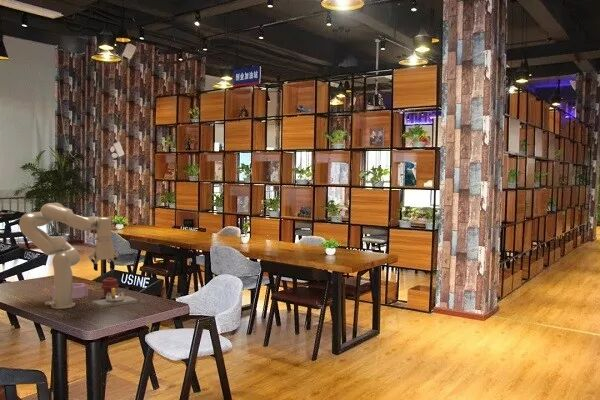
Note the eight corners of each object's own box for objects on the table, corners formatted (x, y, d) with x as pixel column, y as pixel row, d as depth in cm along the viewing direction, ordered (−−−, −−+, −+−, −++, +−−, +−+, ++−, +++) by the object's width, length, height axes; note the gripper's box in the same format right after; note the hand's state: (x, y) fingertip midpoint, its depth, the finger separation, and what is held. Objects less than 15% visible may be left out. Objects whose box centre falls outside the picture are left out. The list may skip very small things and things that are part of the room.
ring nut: (112, 304, 304) (112, 288, 304) (102, 299, 315) (102, 284, 314) (129, 301, 312) (130, 286, 311) (119, 297, 322) (119, 282, 321)
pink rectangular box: (54, 300, 318) (54, 289, 318) (49, 297, 328) (49, 285, 327) (89, 296, 330) (89, 285, 330) (83, 293, 340) (83, 282, 340)
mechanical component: (121, 296, 331) (112, 300, 321) (107, 295, 333) (97, 299, 323) (121, 277, 330) (112, 280, 321) (107, 276, 332) (97, 279, 323)
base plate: (101, 307, 303) (101, 305, 303) (92, 303, 312) (92, 301, 312) (137, 302, 318) (137, 299, 318) (127, 298, 327) (127, 295, 327)
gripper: (91, 240, 291) (91, 272, 292) (121, 238, 303) (121, 269, 304) (85, 239, 297) (85, 270, 297) (115, 237, 309) (115, 267, 309)
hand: (103, 269), depth 301 cm, fingers open, 8 cm apart
